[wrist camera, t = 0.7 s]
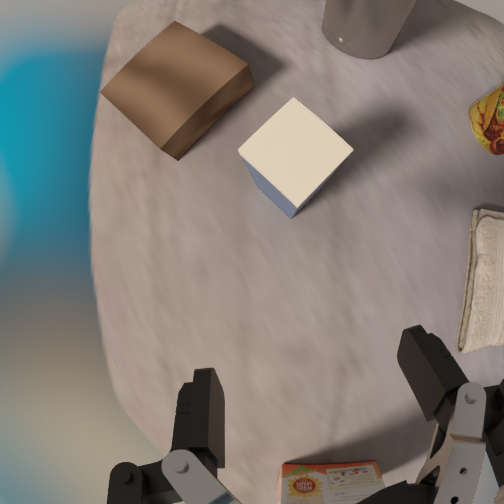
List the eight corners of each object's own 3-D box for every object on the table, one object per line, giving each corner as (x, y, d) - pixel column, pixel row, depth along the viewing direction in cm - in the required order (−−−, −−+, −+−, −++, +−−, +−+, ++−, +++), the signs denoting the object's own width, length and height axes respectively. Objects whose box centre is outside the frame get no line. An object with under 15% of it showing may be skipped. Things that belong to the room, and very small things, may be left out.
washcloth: (519, 215, 26) (533, 214, 23) (507, 339, 27) (519, 345, 24) (464, 207, 27) (479, 206, 24) (451, 350, 28) (463, 358, 25)
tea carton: (288, 157, 29) (293, 97, 15) (321, 187, 29) (353, 149, 15) (258, 188, 29) (237, 150, 15) (290, 218, 29) (298, 206, 15)
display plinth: (186, 42, 29) (174, 20, 24) (253, 86, 28) (248, 64, 23) (120, 107, 30) (99, 92, 25) (177, 160, 30) (160, 148, 25)
